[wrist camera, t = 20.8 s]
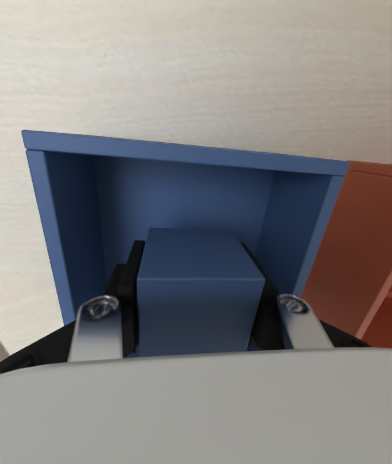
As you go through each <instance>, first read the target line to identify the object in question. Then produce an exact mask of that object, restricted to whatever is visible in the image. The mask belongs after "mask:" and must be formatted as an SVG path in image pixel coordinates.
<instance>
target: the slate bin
mask: <svg viewBox="0 0 392 464" xmlns="http://www.w3.org/2000/svg"><path fill="white" fill-rule="evenodd" d="M22 137H23V141H24V146H25V148H26V149H28V150H26V155H27V160H28V164H29V169H30V173H31V178H32V182H33V187H34V191H35V196H36V200H37V205H38V209H39V214H40V218H41V223H42V227H43V232H44V236H45V241H46V245H47V250H48V254H49V259H50V263H51V268H52V272H53V277H54V281H55V286H56V290H57V295H58V300H59V304H60V309H61V313H62V318H63V322H64V326H65V325H67V324H69V323H71V322H73V321H75V320H76V318H77V313H78V310H79V308H80V306H81V305H82V304H83V303H84V302H85V301H86V300H88V299H89V298H92V297H94V296H97V295H101V294H104V291H105V289H106V287H107V285H108V282H109V280H110V278H111V275H112V273H113V271H114V269H115V266H116V264H126V263H127V260H128V257H129V255H130V252H131V249H132V246H133V243H134V241H135V240H145V242H146V239H147V234H148V230H149V228H150V227H153V228H179V229H206V230H231V231H232V232H233V234H234V235H235V236H236V238H237V239H238V241H239V242H240V243H244V244H245V245H246V246H247V248H248V249H249V250H250V252H251V253H252V254H253V256H254V257H255V258H256V260H257V261H258V263H259V264H260V265H261V267H262V268H263V269H264V271H265V272H266V273H267V275H268V276H269V277H270V279H271V280H272V281H273V283H274V284H275V286H276V287H277V289H278V290H279V292H280V293H291V294H294V295H297V296H299V297H301V295H302V292H303V290H304V287H305V284H306V281H307V279H308V276H309V273H310V271H311V268H312V265H313V262H314V260H315V257H316V254H317V252H318V249H319V246H320V243H321V241H322V238H323V235H324V233H325V230H326V227H327V224H328V222H329V219H330V216H331V214H332V211H333V208H334V205H335V203H336V200H337V197H338V195H339V192H340V189H341V186H342V184H343V181H344V178H345V177H344V176H345V175H346V173H347V170H348V167H349V165H350V162H349V161H341V160H332V159H323V158H314V157H305V156H296V155H286V154H277V153H267V152H256V151H246V150H236V149H225V148H215V147H205V146H195V145H184V144H174V143H164V142H154V141H143V140H133V139H123V138H112V137H102V136H92V135H81V134H68V133H56V132H44V131H32V130H22ZM246 351H260V348H259V347H251V348H248V347H247V350H246ZM134 357H139V344H137V347H136V353H131V354H130V355H128V356H127V357H126V358H134Z"/></svg>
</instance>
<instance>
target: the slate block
mask: <svg viewBox="0 0 392 464" xmlns="http://www.w3.org/2000/svg"><path fill="white" fill-rule="evenodd" d="M264 283H265V278H264V276H263V275H262V273H261V272H260V271H259V269H258V268H257V266H256V265H255V263H254V262H253V261H252V259H251V258H250V256H249V255H248V253H247V252H246V251H245V249H244V248H243V246H242V245H241V244H240V242H239V241H238V239H237V238H236V236H235V235H234V234H233V232H232V231H231V230H206V229H179V228H153V227H150V228H149V230H148V234H147V239H146V243H145V247H144V251H143V255H142V260H141V264H140V268H139V272H138V276H137V305H138V341H139V357H151V356H169V355H187V354H206V353H225V352H245V351H246V350H247V347H248V343H249V339H250V335H251V332H252V328H253V324H254V321H255V317H256V313H257V309H258V306H259V302H260V298H261V294H262V291H263V287H264Z"/></svg>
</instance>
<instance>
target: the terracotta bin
mask: <svg viewBox="0 0 392 464" xmlns="http://www.w3.org/2000/svg"><path fill="white" fill-rule="evenodd" d="M348 161H349V160H348ZM349 162H350V165H349V167H348V170H347V173H346V175H345V176H344V177H345V178H344V181H343V184H342V186H341V189H340V192H339V195H338V197H337V200H336V203H335V205H334V208H333V211H332V214H331V216H330V219H329V222H328V224H327V227H326V230H325V233H324V235H323V238H322V241H321V243H320V246H319V249H318V252H317V254H316V257H315V260H314V262H313V265H312V268H311V271H310V273H309V276H308V279H307V281H306V284H305V287H304V290H303V292H302V295H301V298H303V299H304V300H305V301H307V302H308V303H309V305H310V306H311V307H312V309H313V311H314V313H315V314H316V316H317V318H318V319H319V320H322V321H324V322H326V323H328V324H330V325H332V326H334V327H336V328H338V329H340V330H342V331H344V332H346V333H348V334H350V335H352V336H354V337H356V338H359V339H361V340H362V341H364V342H366V343H368V344H369V345H370V346H372V347H378V348H391V349H392V293H391V292H390V291H389V289H390V288H391V286H392V165H390V164H380V163H369V162H359V161H349Z"/></svg>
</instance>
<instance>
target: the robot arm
mask: <svg viewBox="0 0 392 464" xmlns="http://www.w3.org/2000/svg"><path fill="white" fill-rule="evenodd" d="M145 243H146V242H145V240H135V241H134V243H133V246H132V249H131V252H130V255H129V257H128V260H127V263H126V264H116V266H115V269H114V271H113V273H112V275H111V278H110V280H109V282H108V285H107V287H106V289H105V291H104V294H101V295H97V296H94V297H92V298H89V299H88V300H86V301H85V302H84V303H83V304H82V305H81V306H80V308H79V310H78V313H77V318H76V320H75V321H73V322H71V323H69V324H67V325H65V326H64V327H62V328H60V329H58V330H56V331H54V332H53V333H51V334H49V335H47V336H45V337H43V338H42V339H40V340H38V341H36V342H34V343H32V344H31V345H29V346H27V347H25V348H23V349H21V350H20V351H18V352H16V353H14V354H12V355H11V356H9V357H8V358H6V359H5V360H3V361H1V362H0V464H392V349H391V348H378V347H372V346H370V345H369V344H368V343H366V342H364V341H362V340H361V339H359V338H356V337H354V336H352V335H350V334H348V333H346V332H344V331H342V330H340V329H338V328H336V327H334V326H332V325H330V324H328V323H326V322H324V321H322V320H319V319H318V318H317V316H316V314H315V313H314V311H313V309H312V307H311V306H310V305H309V303H308V302H307V301H305V300H304V299H303V298H301V297H299V296H297V295H294V294H291V293H280V292H279V290H278V289H277V287H276V286H275V284H274V283H273V281H272V280H271V279H270V277H269V276H268V275H267V273H266V272H265V271H264V269H263V268H262V267H261V265H260V264H259V263H258V261H257V260H256V258H255V257H254V256H253V254H252V253H251V252H250V250H249V249H248V248H247V246H246V245H245V244H244V243H240V244H241V245H242V246H243V248H244V249H245V251H246V252H247V253H248V255H249V256H250V258H251V259H252V261H253V262H254V263H255V265H256V266H257V268H258V269H259V271H260V272H261V273H262V275H263V276H264V278H265V283H264V287H263V291H262V294H261V298H260V302H259V306H258V309H257V313H256V317H255V321H254V324H253V328H252V332H251V335H250V339H249V343H248V348H251V347H259V348H260V351H245V352H225V353H206V354H187V355H169V356H151V357H134V358H126V357H127V356H128V355H130V354H131V353H136V347H137V344H139V341H138V305H137V276H138V272H139V268H140V264H141V260H142V255H143V251H144V247H145Z"/></svg>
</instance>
